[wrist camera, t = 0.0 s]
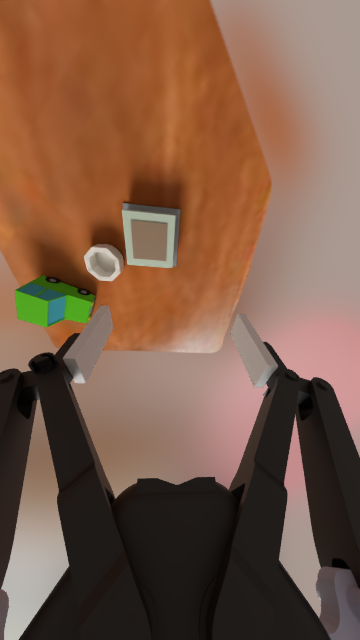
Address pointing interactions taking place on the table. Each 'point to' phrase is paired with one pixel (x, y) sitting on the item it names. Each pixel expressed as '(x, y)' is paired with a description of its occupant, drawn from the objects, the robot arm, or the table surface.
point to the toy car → (53, 302)
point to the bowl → (104, 262)
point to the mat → (160, 210)
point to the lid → (149, 238)
